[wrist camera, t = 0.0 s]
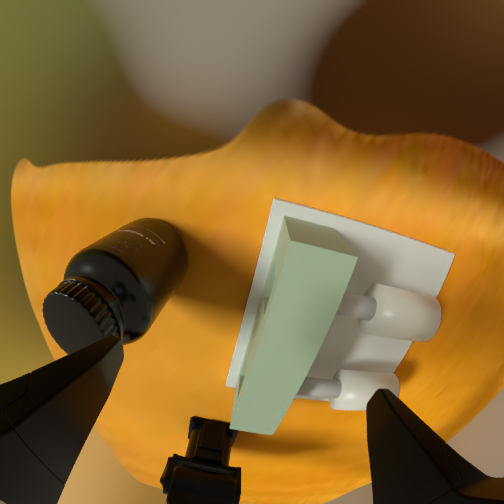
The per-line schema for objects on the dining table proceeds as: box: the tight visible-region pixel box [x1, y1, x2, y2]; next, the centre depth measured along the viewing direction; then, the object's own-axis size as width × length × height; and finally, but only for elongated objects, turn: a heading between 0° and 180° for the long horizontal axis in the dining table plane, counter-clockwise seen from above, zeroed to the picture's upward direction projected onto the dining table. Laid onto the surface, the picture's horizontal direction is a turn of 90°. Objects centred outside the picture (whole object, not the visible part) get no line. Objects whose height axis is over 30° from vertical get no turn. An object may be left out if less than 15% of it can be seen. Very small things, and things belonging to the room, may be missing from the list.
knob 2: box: [296, 369, 400, 411], centre depth 22 cm, size 12×4×4 cm, turn 77°
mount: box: [225, 198, 455, 435], centre depth 21 cm, size 20×18×7 cm
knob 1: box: [335, 283, 442, 342], centre depth 19 cm, size 12×4×4 cm, turn 77°
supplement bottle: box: [43, 218, 188, 355], centre depth 17 cm, size 7×7×12 cm
